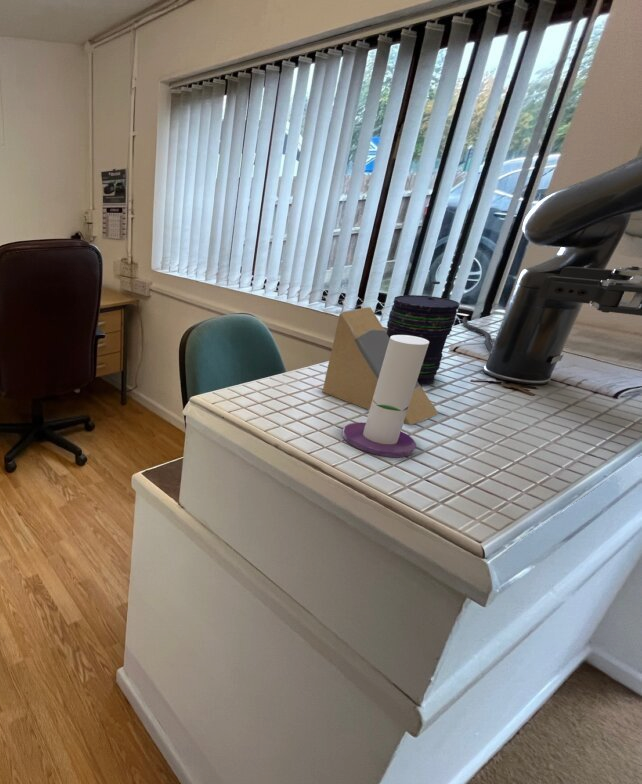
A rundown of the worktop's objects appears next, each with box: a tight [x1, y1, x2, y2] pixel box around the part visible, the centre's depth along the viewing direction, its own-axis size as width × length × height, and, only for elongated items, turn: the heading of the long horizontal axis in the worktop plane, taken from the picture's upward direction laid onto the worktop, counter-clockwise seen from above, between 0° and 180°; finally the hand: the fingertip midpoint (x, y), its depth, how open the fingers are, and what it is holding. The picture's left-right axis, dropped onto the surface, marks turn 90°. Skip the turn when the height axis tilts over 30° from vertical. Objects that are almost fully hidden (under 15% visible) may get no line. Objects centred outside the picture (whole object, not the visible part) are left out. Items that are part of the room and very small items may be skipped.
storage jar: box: [385, 280, 460, 386], centre depth 87 cm, size 10×10×18 cm
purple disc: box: [342, 422, 417, 458], centre depth 68 cm, size 9×9×1 cm
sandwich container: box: [322, 306, 440, 426], centre depth 77 cm, size 9×15×15 cm, turn 27°
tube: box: [363, 335, 429, 444], centre depth 64 cm, size 4×4×15 cm
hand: (551, 281), depth 50 cm, fingers open, 8 cm apart
